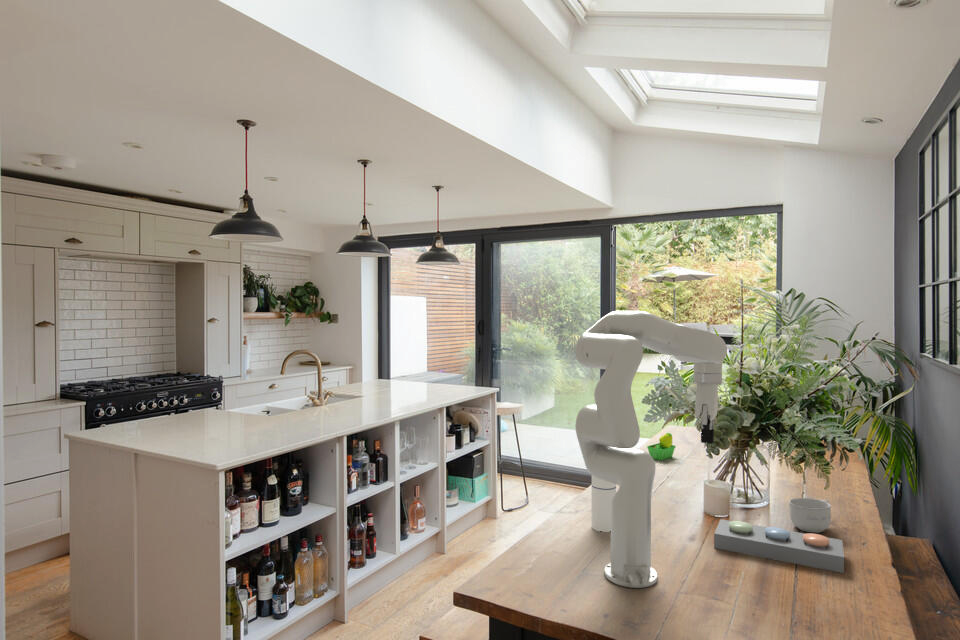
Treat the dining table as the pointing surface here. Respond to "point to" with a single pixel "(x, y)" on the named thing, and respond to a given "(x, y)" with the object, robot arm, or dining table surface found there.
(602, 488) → the cylindrical container
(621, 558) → the robot arm
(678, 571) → the dining table surface
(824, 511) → the teacup
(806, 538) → the button terracotta
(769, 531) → the button slate
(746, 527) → the button sage
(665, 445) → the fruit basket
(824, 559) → the button panel
